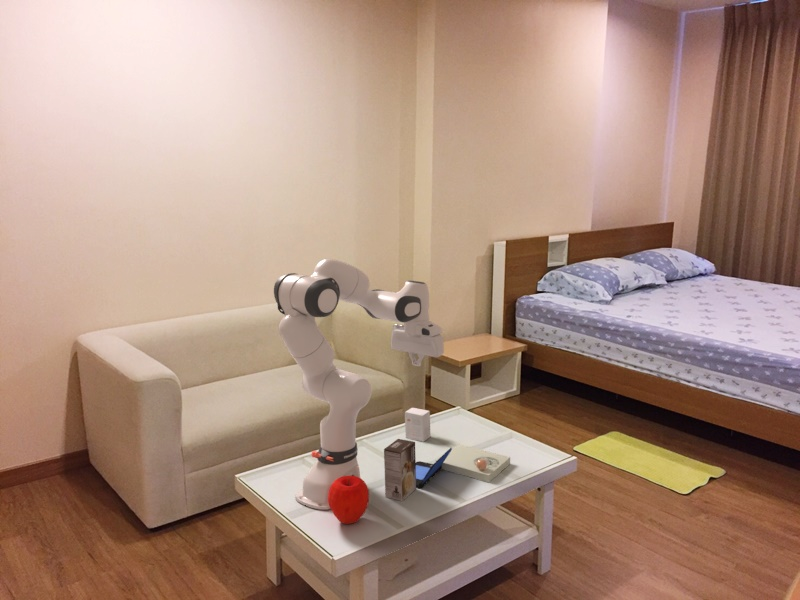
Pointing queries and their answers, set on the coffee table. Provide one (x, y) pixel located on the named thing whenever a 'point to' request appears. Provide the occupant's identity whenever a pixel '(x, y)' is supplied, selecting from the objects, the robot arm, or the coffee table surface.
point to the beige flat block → (474, 463)
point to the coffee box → (400, 469)
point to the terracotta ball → (481, 464)
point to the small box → (417, 424)
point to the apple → (348, 498)
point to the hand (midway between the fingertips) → (416, 365)
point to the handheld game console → (428, 470)
